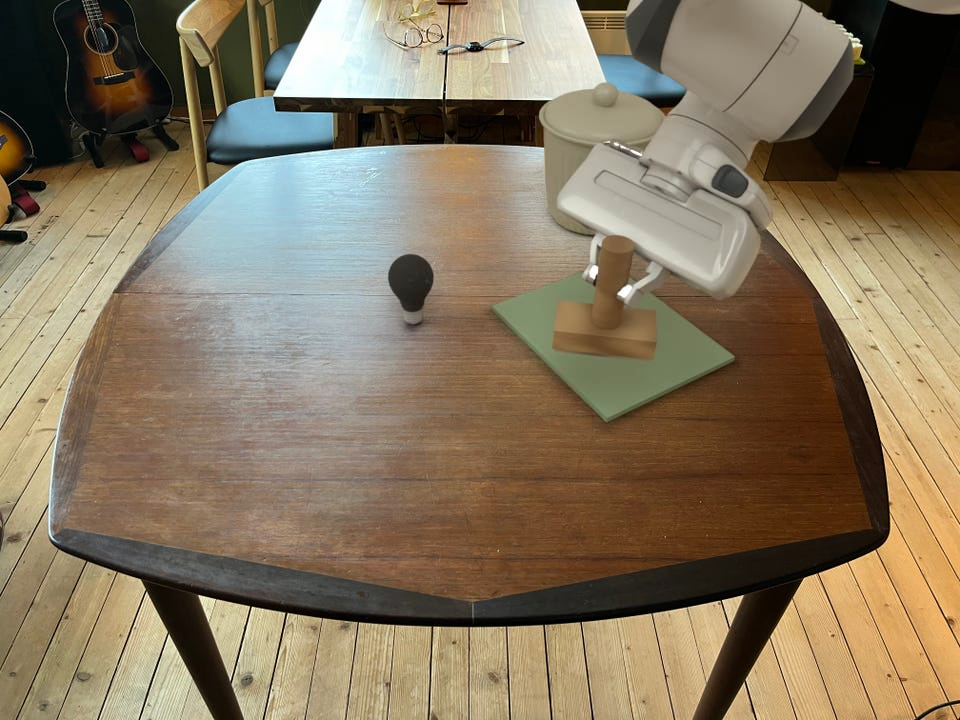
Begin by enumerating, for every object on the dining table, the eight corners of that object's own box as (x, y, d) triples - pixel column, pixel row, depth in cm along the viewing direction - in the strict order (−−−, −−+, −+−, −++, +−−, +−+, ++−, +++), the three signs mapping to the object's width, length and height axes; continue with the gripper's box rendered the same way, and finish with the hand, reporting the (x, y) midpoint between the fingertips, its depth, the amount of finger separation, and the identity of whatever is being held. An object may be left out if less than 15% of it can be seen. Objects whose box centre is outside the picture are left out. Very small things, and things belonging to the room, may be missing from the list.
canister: (669, 214, 116) (696, 81, 102) (608, 263, 106) (630, 122, 92) (574, 179, 125) (587, 51, 111) (509, 221, 114) (515, 86, 100)
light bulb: (387, 333, 93) (381, 268, 87) (397, 307, 97) (392, 242, 91) (430, 338, 93) (427, 273, 86) (439, 311, 97) (437, 247, 90)
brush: (651, 332, 77) (672, 234, 69) (652, 364, 73) (674, 264, 65) (555, 322, 78) (565, 224, 70) (551, 353, 74) (561, 253, 66)
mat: (733, 361, 90) (735, 356, 89) (606, 422, 82) (607, 417, 81) (609, 266, 105) (609, 261, 105) (491, 310, 97) (491, 305, 97)
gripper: (591, 117, 72) (516, 238, 74) (776, 196, 61) (682, 336, 62) (615, 146, 77) (544, 258, 79) (790, 224, 66) (702, 353, 68)
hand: (606, 293), depth 71 cm, fingers closed on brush, 3 cm apart
